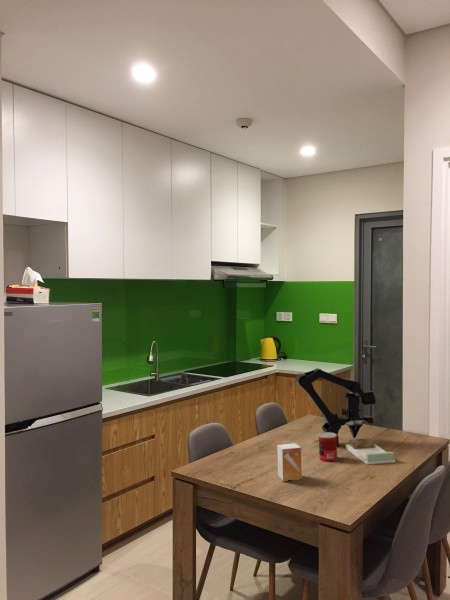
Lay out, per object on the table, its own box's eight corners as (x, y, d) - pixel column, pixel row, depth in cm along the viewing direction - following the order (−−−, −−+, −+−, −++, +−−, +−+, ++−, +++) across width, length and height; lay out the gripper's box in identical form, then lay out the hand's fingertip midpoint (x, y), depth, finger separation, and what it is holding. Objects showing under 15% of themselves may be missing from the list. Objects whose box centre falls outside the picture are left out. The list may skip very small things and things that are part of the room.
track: (366, 464, 217) (366, 455, 217) (345, 448, 240) (345, 439, 240) (395, 462, 219) (395, 452, 219) (371, 446, 242) (371, 437, 242)
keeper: (352, 448, 235) (352, 442, 235) (349, 446, 239) (349, 439, 239) (373, 447, 237) (373, 440, 237) (370, 444, 241) (369, 438, 241)
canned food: (340, 458, 225) (339, 434, 225) (331, 463, 220) (330, 438, 220) (325, 455, 231) (325, 431, 231) (316, 459, 225) (315, 435, 225)
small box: (282, 482, 199) (282, 449, 199) (277, 476, 205) (276, 444, 205) (302, 479, 201) (301, 447, 201) (296, 474, 207) (295, 442, 207)
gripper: (364, 401, 256) (365, 432, 256) (329, 403, 253) (330, 434, 253) (374, 406, 245) (375, 438, 245) (337, 408, 242) (338, 441, 242)
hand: (354, 437), depth 246 cm, fingers closed
